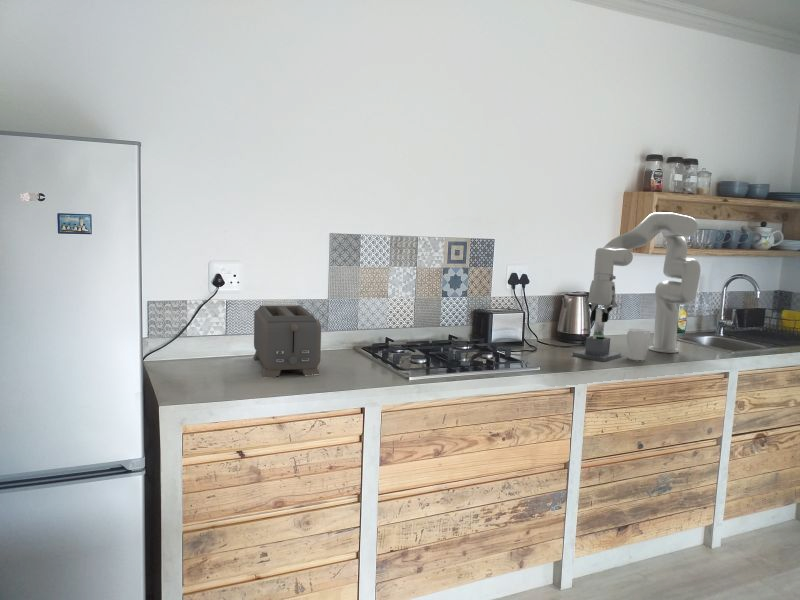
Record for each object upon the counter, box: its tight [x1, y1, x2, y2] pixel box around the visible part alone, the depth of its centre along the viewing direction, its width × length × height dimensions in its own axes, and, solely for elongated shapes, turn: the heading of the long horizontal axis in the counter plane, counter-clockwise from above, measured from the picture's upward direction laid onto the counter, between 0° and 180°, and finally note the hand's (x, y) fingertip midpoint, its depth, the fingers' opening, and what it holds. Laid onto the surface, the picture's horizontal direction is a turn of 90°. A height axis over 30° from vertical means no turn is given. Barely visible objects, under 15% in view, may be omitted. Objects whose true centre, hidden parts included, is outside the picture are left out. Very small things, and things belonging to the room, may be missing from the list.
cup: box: [626, 328, 651, 361], centre depth 273 cm, size 9×9×12 cm
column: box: [592, 307, 606, 339], centre depth 273 cm, size 4×4×13 cm
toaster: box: [252, 304, 322, 378], centre depth 232 cm, size 19×35×20 cm, turn 19°
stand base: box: [572, 335, 622, 363], centre depth 275 cm, size 16×14×9 cm
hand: (599, 320), depth 273 cm, fingers closed on column, 4 cm apart
